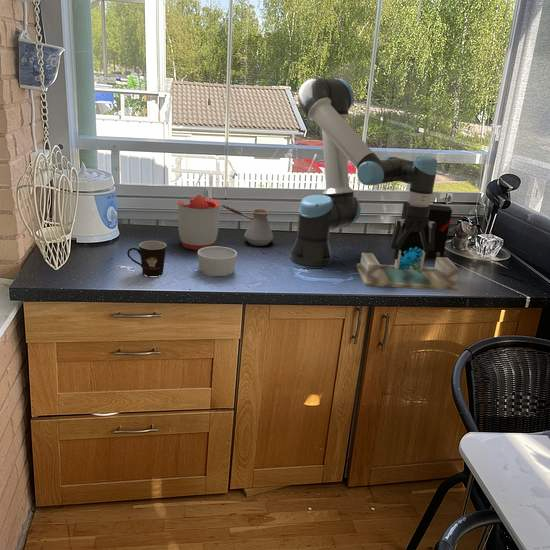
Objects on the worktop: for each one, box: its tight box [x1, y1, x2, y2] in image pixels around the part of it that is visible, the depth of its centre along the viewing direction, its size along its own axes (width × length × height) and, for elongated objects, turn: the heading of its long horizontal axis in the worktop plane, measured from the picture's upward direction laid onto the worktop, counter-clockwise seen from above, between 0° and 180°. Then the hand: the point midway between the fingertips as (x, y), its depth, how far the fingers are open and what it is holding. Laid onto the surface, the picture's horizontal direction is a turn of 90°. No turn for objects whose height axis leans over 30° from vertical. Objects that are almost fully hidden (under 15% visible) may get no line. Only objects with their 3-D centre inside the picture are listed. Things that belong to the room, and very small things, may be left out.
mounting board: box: [355, 252, 460, 291], centre depth 198 cm, size 32×16×7 cm, turn 93°
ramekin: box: [197, 245, 238, 277], centre depth 192 cm, size 13×13×7 cm
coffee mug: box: [127, 240, 167, 276], centre depth 185 cm, size 12×9×10 cm
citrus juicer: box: [177, 194, 221, 251], centre depth 213 cm, size 16×17×20 cm
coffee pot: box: [219, 204, 274, 247], centre depth 222 cm, size 21×12×15 cm, turn 99°
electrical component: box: [397, 201, 453, 260], centre depth 223 cm, size 18×10×20 cm, turn 84°
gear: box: [399, 247, 423, 273], centre depth 197 cm, size 11×6×10 cm
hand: (408, 268), depth 197 cm, fingers closed on gear, 8 cm apart
